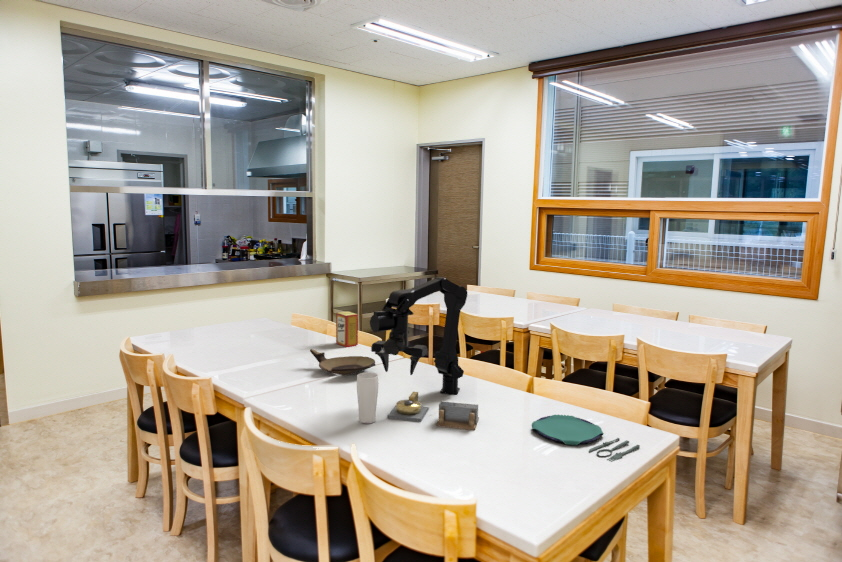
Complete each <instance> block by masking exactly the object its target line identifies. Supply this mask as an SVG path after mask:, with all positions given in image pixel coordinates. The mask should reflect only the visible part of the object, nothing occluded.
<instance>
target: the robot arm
mask: <svg viewBox="0 0 842 562" xmlns="http://www.w3.org/2000/svg"><path fill="white" fill-rule="evenodd" d="M437 292H440V293H441V294H443V301H444V305H445V308H446V313H445V321H444V330H443V337H442V344H441V348H440V349H439V351H435V353H434V360H433V362H434V367H435V368H436V370H437V373H438V374H441V375H442V386H441V389H440V390H439V393H440V394H449V395H450V394H451V395H458V393H459V392H460V390H461V387H459V379H461V378H463V375H464V372H465V371H464V370H463V369H462V368H461V366H460V365H459V356H458V353H457V350H456V348H457V346H456V345H457V338H458V332H459V323H460V315H461V310H462V309H463V308H464V306H465V304H466V302H467V298H468V290H467V289H466V287H464V286H462V285H458V284H456V283H454V282H452V281H450V280H449V279H447V278H446V277H440V276H436V277H434V278H433V279H430V280H428V281H426V282H423V283H421V284H418V285H416V286H414V287H411V288H407V289H406V288H405V289H398V290H393V291H391V292H390V293H389V296H388V299H387V300H386V302H385V304H384V305H383V307H382V309H381V310H380V311H379V310H374V311H373V315H372V316H371V317H370V320H369V325H370V326H369V327H370V329H371V331H372V332H373V333H379V332H386V331H390V332H389V335H388V339H386V341H385V340H377V341H375V342H373V343H372V344H371V346H370V347H371V348H370V351H371V352H373V353H374V354H375V355H377V356H378V357H379V358H380V360H381V362H382V365H383V368H384V371H385V372H386V373H387V372H388V371H389V361H390V358H389V356H390V355H391V356H392V355H393V356H398V355H399V353H400V352H401V353H402V352H403V353H410V356H409V360H410V365H409V366H410V367H409V368H410V369H409V374H410V376H412V375H413V374H414V372H415V370H416V366H417V364H418V362H419V360H420V359H421V358H423V357H425V356H426V355H427V354H428V347H427V346H426V345H423V344H422V345H421V344H415V345H414V346H410V342H409V337H408V336H409V335H410V330H409V316H413V315H414V311H412V310H411V309H410V308H411V307H413V306H414V305H415V303H417V301H419V300H421V299H423V298H426V297H428V296H430V295H433V294H435V293H437Z"/></svg>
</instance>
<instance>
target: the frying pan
mask: <svg viewBox="0 0 842 562" xmlns="http://www.w3.org/2000/svg"><path fill="white" fill-rule="evenodd" d="M309 351H310V353H311V354H312V356H313V357H314V358H315V359H316V360H317V362H318V363H319V364H318V367H319V368H320V369H321V370H324V371H325V372H328V373H331V374H334V375H335V374H336V375H340V376H349V375H354V374H355V375H356V374H359V373H362V372H364V371H366V370H368V369H370V368H372V367H375V366H376V360H375V359H374V358H372V357H370V356H361V355H352V356H351V355H349V356H338V357H331V358H326V357H325V352H322V351H321V352H318V351H317V350H315V349H313V348H310V349H309Z"/></svg>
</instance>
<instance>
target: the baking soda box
mask: <svg viewBox="0 0 842 562" xmlns="http://www.w3.org/2000/svg"><path fill="white" fill-rule="evenodd" d="M358 315H359V314H358V313H356V312H355V313H354V312H352V311H347V310H346V311H341V312H339V311H338V312H336V313H335V321H336V322H335V337H336V338H335V341H336V342H335V344H336V345H339V346H341V347H344V348H352V347H357V346H356V345H359V337H358V336H359V335H358V333H359V328H358V327H359V316H358Z"/></svg>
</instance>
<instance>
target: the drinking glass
mask: <svg viewBox="0 0 842 562" xmlns="http://www.w3.org/2000/svg"><path fill="white" fill-rule="evenodd" d="M356 395H357V404H358V420H359V422H360V423H361V424H366V425H367V424H373V423H375V422H376V420H377V408H378V407H377V406H378V396H379V374H377V372H372V371H371V372H366V371H365V372H359V373H357V375H356Z"/></svg>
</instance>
